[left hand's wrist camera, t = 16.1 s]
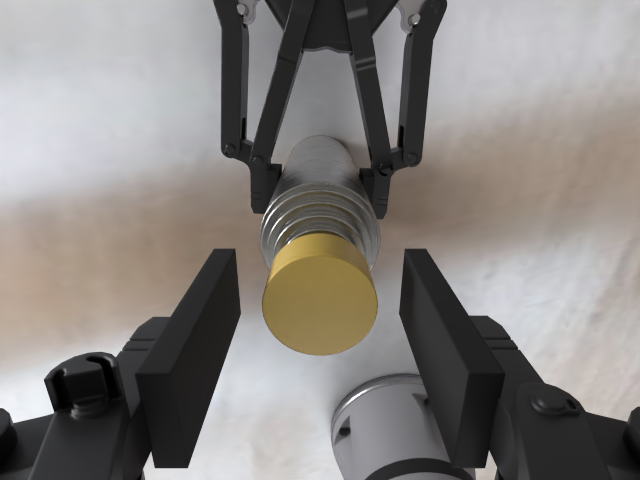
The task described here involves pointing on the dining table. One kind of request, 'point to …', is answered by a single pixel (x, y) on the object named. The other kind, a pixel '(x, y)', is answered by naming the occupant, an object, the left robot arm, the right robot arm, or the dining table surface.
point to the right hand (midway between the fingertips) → (316, 255)
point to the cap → (319, 295)
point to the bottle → (319, 201)
